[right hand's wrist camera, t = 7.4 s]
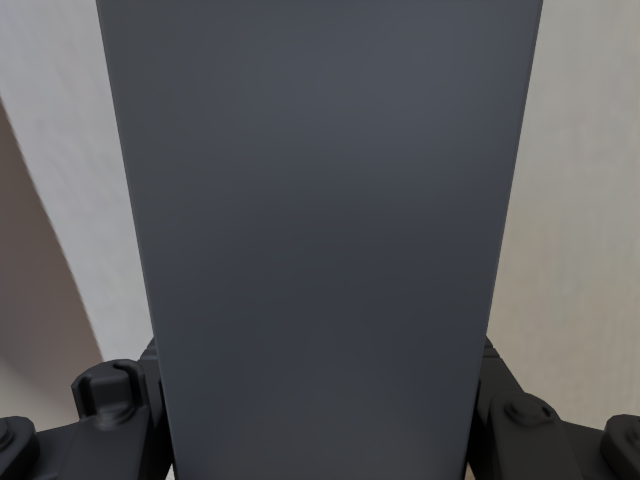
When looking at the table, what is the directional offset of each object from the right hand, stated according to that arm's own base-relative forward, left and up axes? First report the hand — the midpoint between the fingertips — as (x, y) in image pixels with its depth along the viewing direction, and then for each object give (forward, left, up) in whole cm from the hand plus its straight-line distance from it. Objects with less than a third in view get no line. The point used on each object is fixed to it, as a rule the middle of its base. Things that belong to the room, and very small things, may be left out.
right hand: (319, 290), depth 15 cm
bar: (+7, 0, -1) cm, 7 cm away
